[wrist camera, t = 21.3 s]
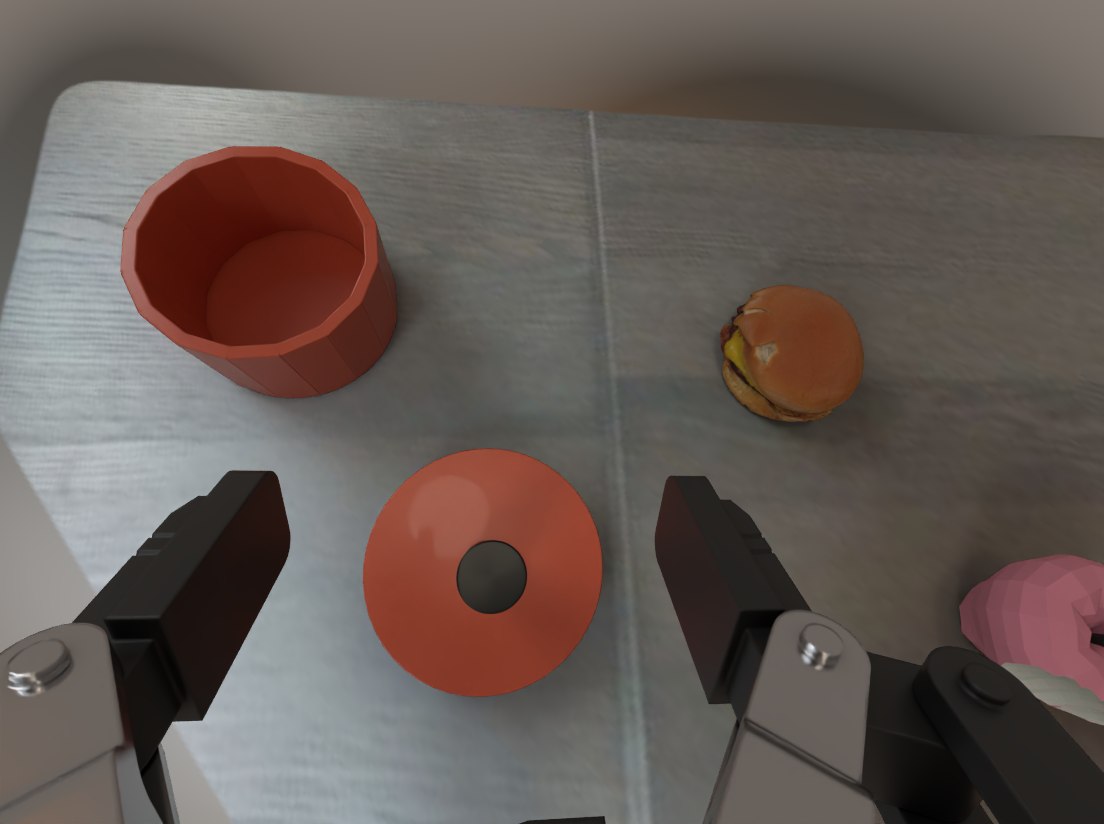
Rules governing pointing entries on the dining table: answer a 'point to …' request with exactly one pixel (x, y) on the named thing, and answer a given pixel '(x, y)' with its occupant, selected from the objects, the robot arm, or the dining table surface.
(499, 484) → the cooker lid
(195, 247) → the cup
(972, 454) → the dining table surface
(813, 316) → the burger
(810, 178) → the dining table surface
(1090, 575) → the apple
